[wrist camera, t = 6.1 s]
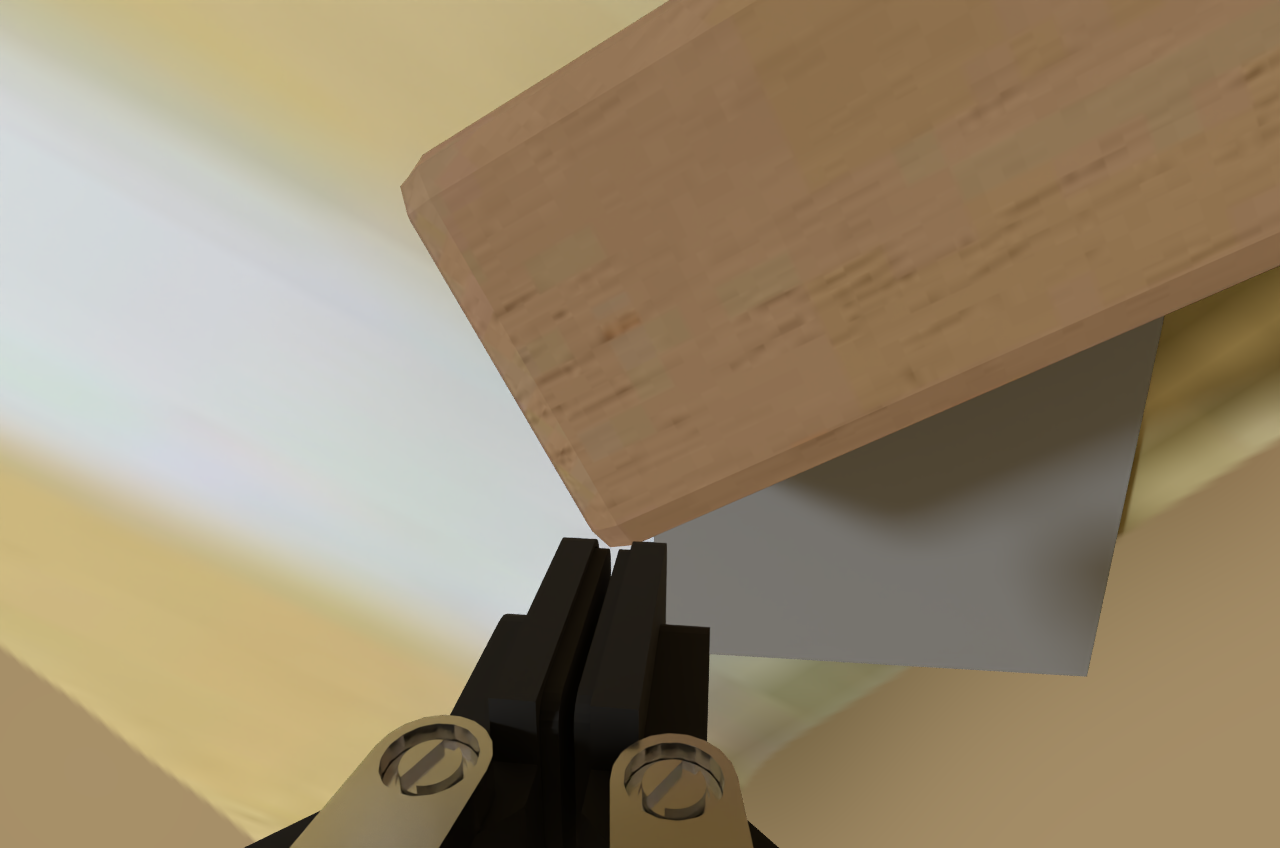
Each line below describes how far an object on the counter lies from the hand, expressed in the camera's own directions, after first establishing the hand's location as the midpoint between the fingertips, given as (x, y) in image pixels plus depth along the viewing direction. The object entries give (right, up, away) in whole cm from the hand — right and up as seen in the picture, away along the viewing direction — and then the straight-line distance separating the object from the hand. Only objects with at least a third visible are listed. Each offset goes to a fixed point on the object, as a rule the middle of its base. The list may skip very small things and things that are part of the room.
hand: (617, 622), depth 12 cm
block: (-3, +5, +9) cm, 11 cm away
